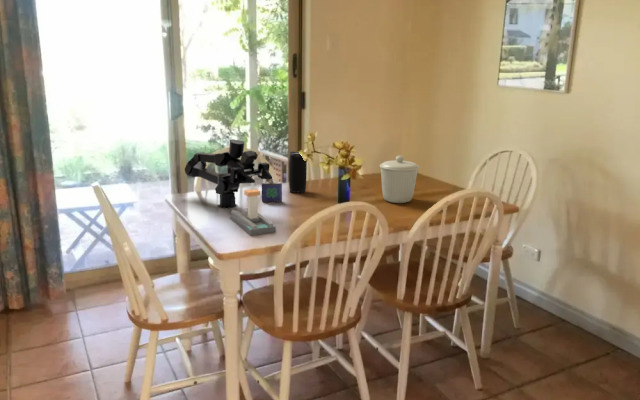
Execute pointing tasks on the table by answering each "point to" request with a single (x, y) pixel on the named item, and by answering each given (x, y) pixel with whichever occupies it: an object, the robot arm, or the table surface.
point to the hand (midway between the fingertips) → (263, 179)
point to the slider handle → (252, 204)
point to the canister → (398, 180)
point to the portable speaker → (297, 173)
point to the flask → (271, 192)
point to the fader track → (252, 223)
